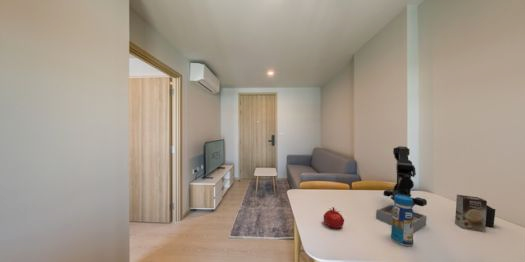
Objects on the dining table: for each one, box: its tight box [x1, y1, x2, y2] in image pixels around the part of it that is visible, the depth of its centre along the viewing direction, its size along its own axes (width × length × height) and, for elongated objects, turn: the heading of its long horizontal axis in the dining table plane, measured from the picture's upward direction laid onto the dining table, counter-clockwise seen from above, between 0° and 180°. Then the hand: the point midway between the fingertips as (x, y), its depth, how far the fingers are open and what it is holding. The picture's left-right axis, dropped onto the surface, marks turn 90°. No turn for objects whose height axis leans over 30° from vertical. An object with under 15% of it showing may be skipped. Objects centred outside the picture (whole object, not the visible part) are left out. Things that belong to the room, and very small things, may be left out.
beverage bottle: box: [390, 195, 415, 247], centre depth 84 cm, size 8×8×20 cm
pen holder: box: [485, 204, 496, 228], centre depth 104 cm, size 9×9×10 cm
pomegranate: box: [323, 207, 345, 229], centre depth 96 cm, size 10×10×9 cm
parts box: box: [375, 204, 427, 233], centre depth 103 cm, size 17×17×5 cm
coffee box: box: [454, 194, 488, 233], centre depth 99 cm, size 9×6×16 cm
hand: (403, 212), depth 104 cm, fingers closed on walnut peg, 4 cm apart
